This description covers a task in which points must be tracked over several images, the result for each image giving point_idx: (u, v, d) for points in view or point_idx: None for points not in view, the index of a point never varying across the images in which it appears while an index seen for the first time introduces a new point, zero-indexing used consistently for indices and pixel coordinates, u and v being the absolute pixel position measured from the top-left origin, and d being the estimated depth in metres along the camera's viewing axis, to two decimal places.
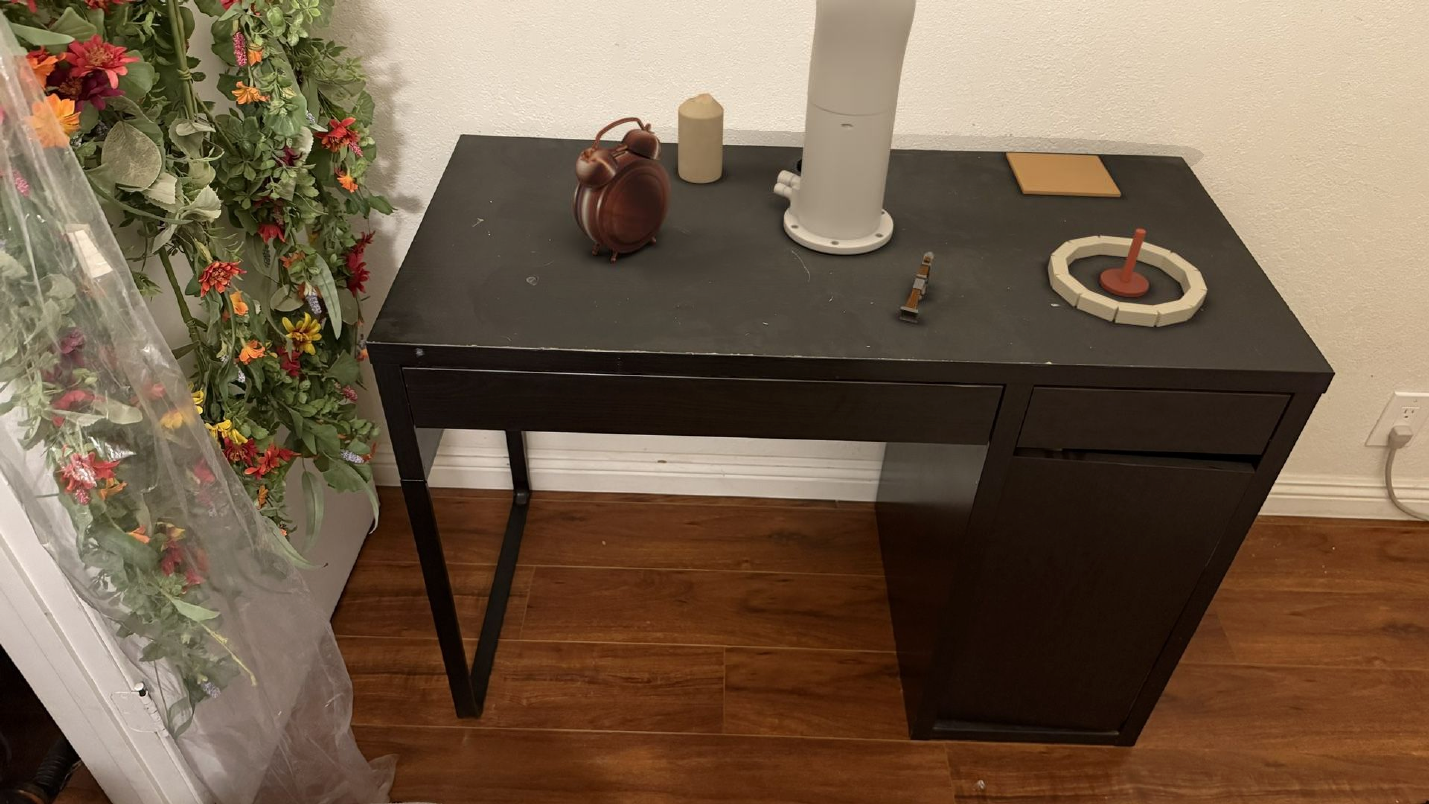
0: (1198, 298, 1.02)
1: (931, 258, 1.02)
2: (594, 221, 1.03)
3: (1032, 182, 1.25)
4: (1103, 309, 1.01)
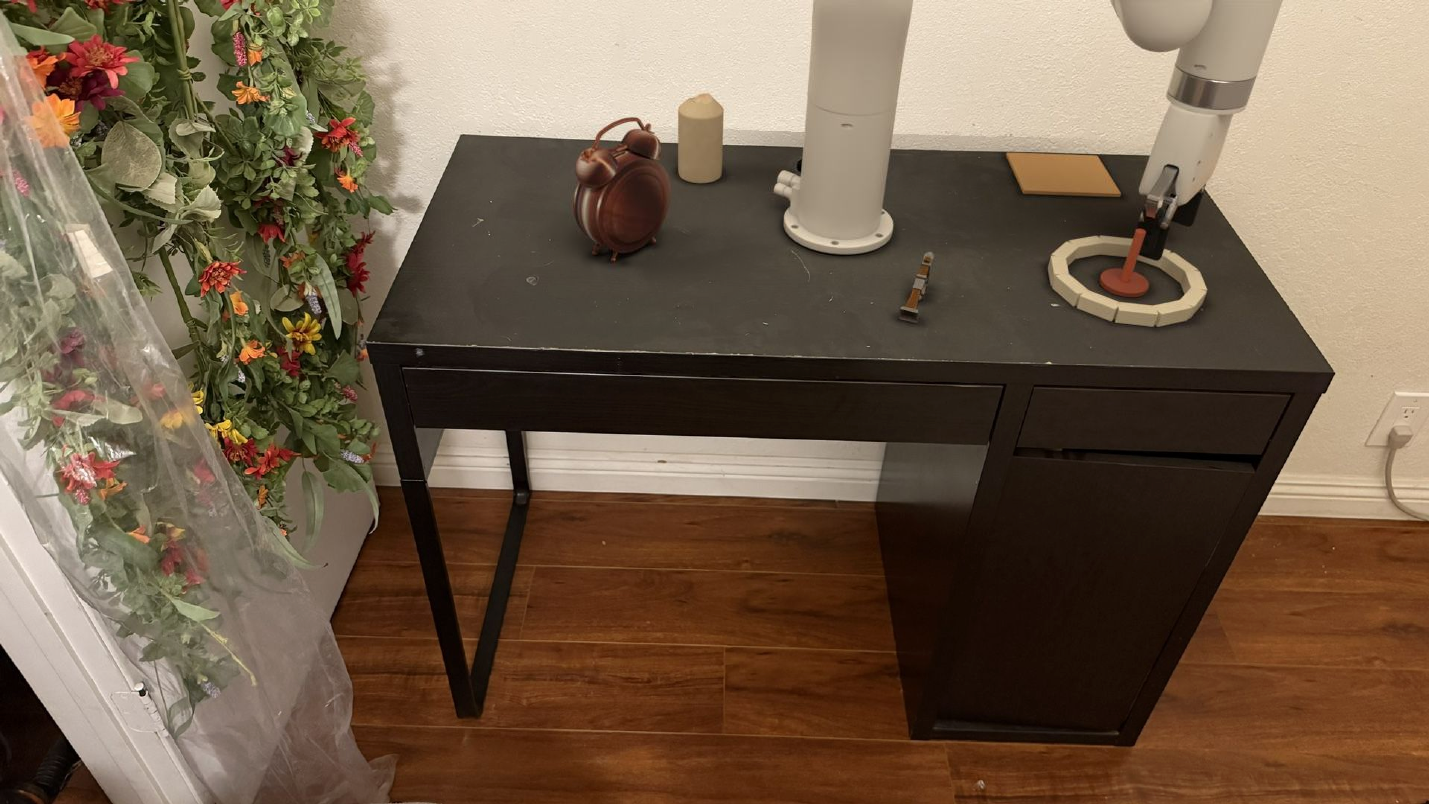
0: (1198, 298, 1.02)
1: (931, 258, 1.02)
2: (594, 221, 1.03)
3: (1032, 182, 1.25)
4: (1103, 309, 1.01)
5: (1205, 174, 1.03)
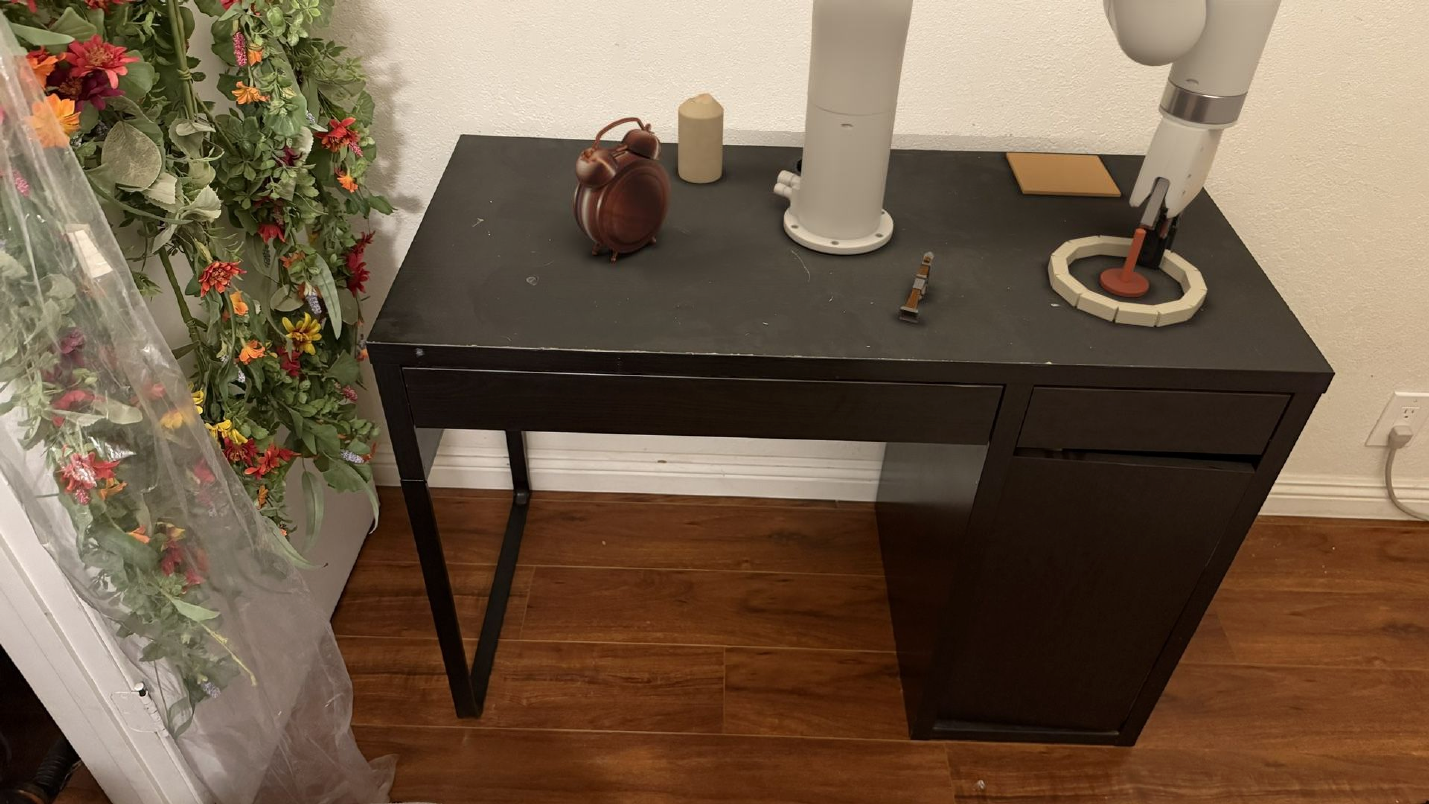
0: (1198, 298, 1.02)
1: (931, 258, 1.02)
2: (594, 221, 1.03)
3: (1032, 182, 1.25)
4: (1103, 309, 1.01)
5: (1195, 187, 1.04)
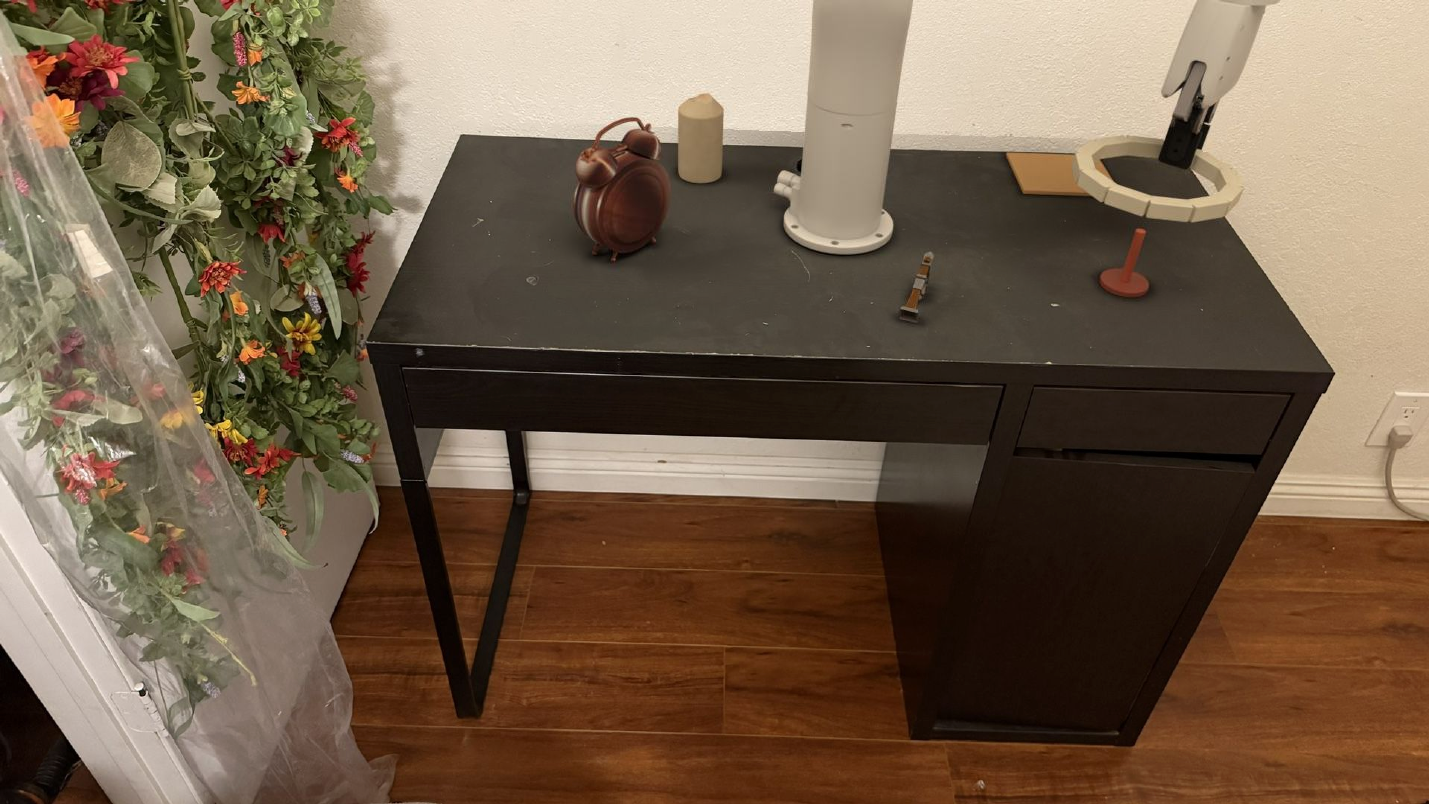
0: (1235, 194, 0.95)
1: (931, 258, 1.02)
2: (594, 221, 1.03)
3: (1032, 182, 1.25)
4: (1133, 203, 0.94)
5: (1232, 75, 0.96)
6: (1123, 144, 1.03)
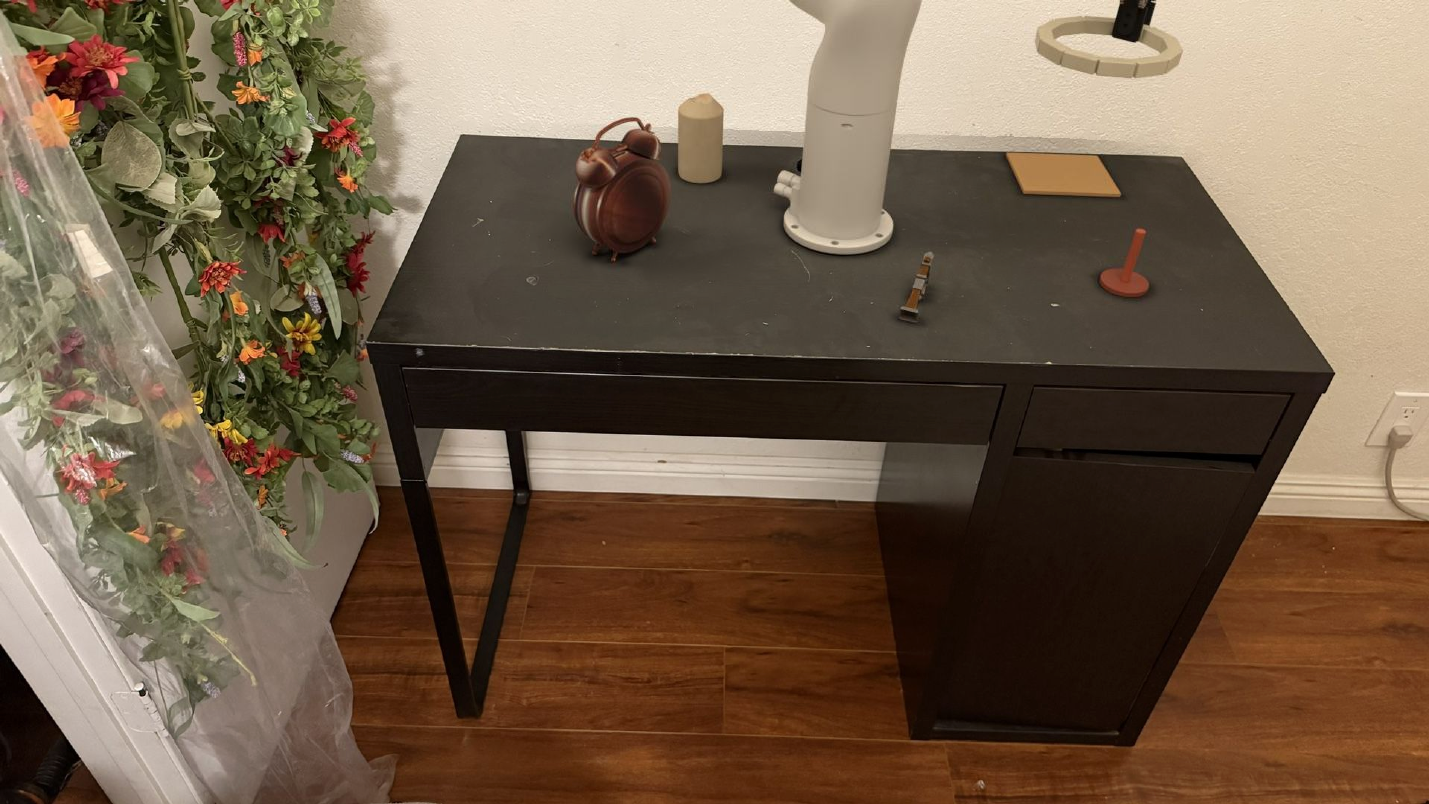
0: (1174, 54, 1.09)
1: (931, 258, 1.02)
2: (594, 221, 1.03)
3: (1032, 182, 1.25)
4: (1084, 63, 1.09)
5: None
6: (1081, 22, 1.18)
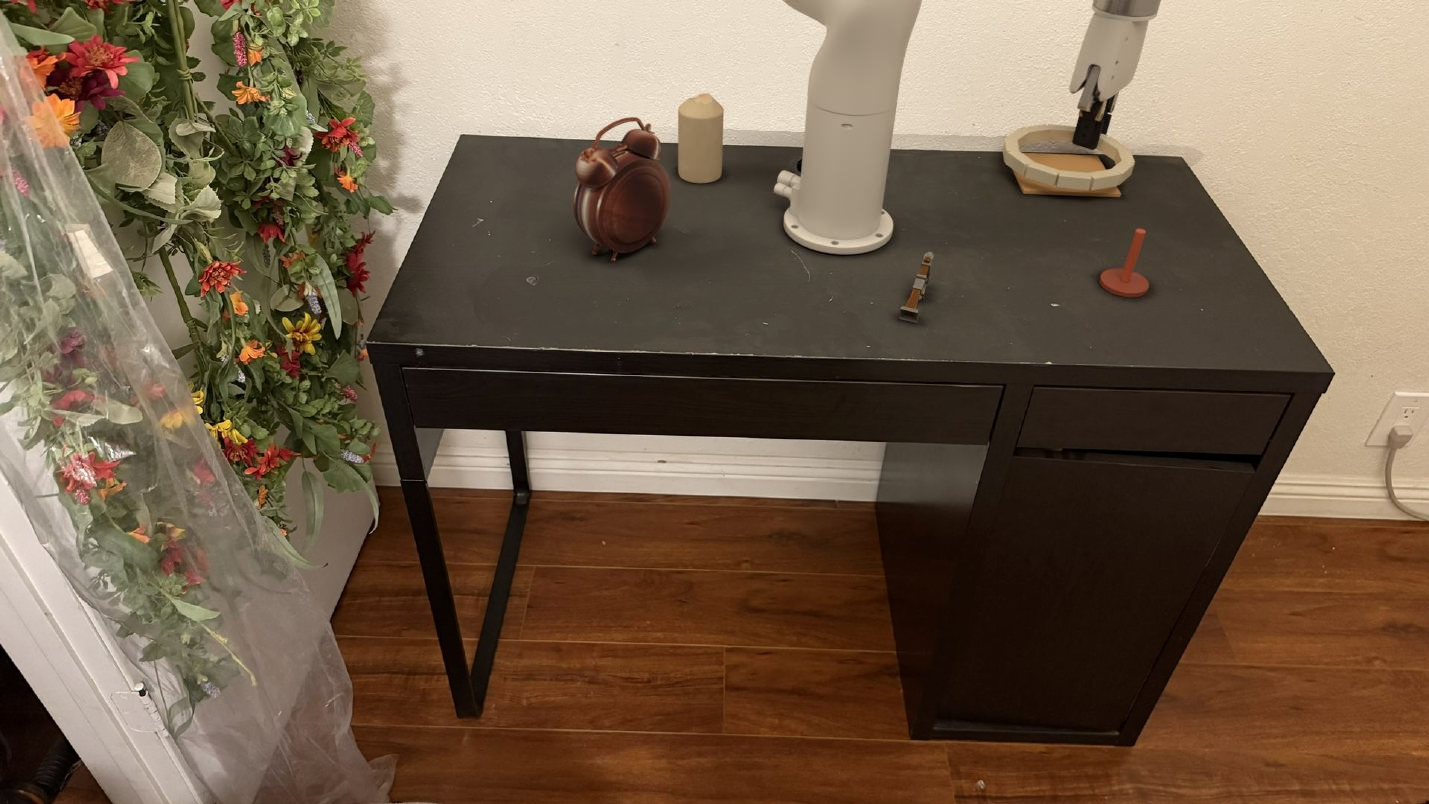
0: (1126, 168, 1.21)
1: (931, 258, 1.02)
2: (594, 221, 1.03)
3: (1032, 182, 1.25)
4: (1046, 176, 1.20)
5: (1124, 75, 1.23)
6: (1044, 131, 1.30)
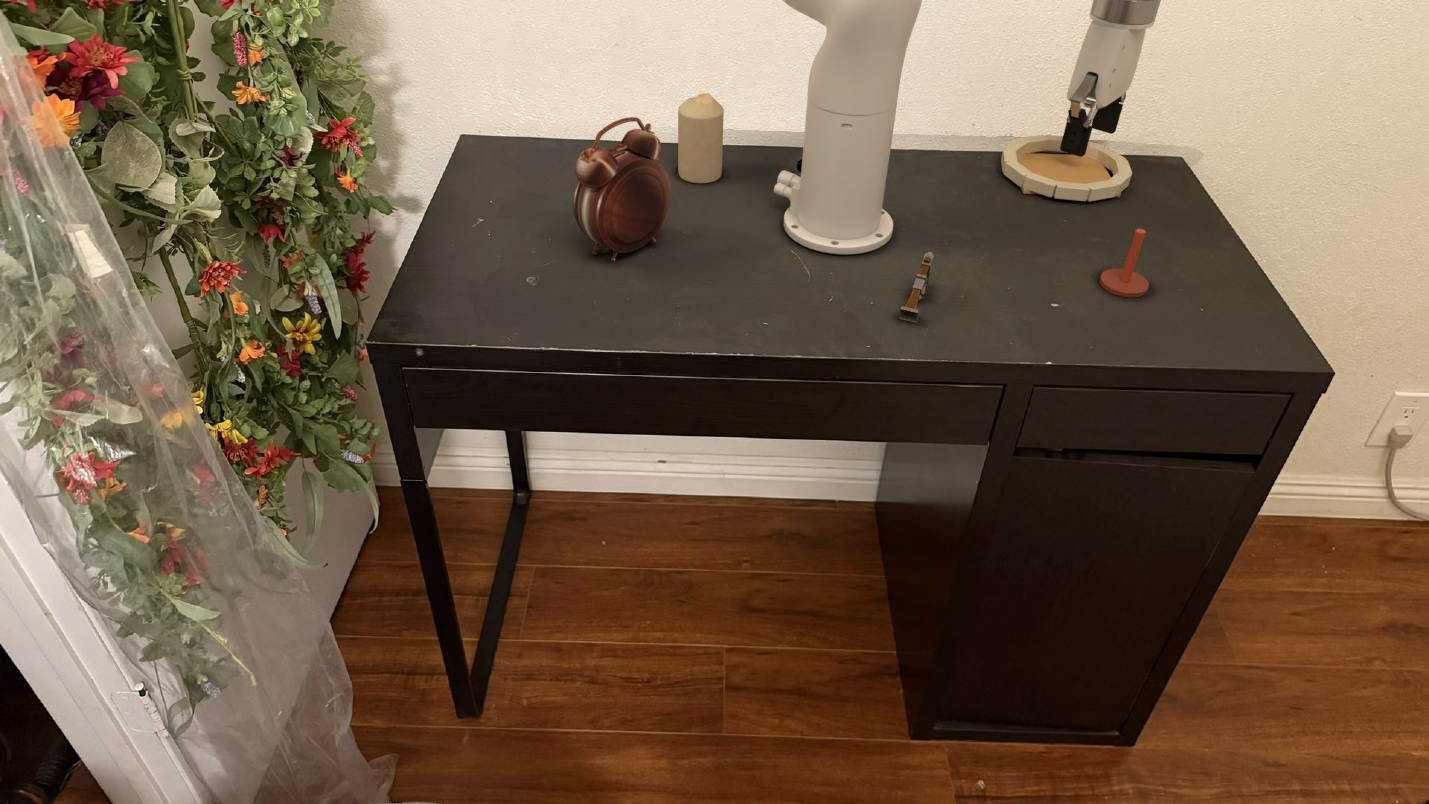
0: (1124, 179, 1.22)
1: (931, 258, 1.02)
2: (594, 221, 1.03)
3: None
4: (1044, 187, 1.21)
5: (1121, 83, 1.23)
6: (1042, 142, 1.31)
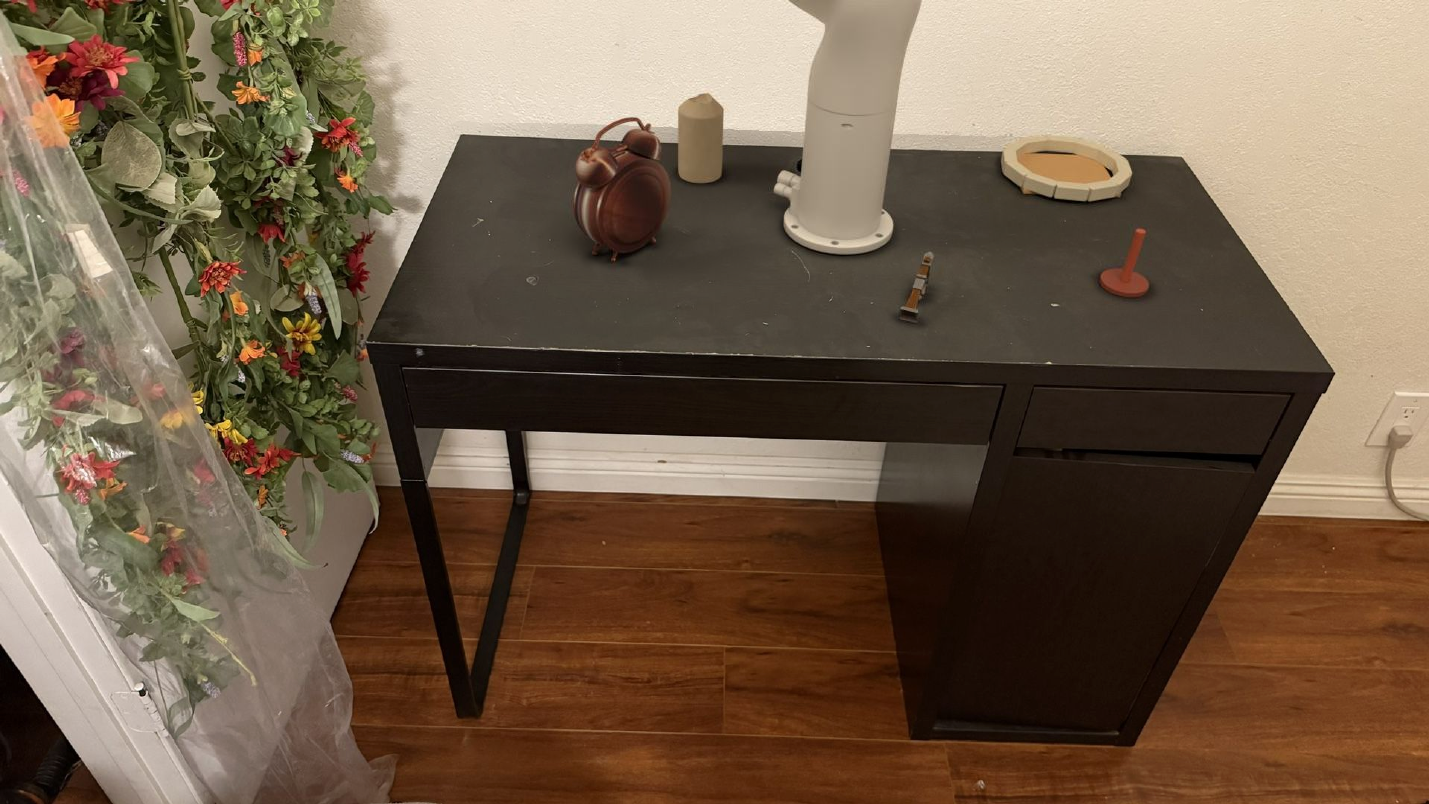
0: (1124, 179, 1.22)
1: (931, 258, 1.02)
2: (594, 221, 1.03)
3: None
4: (1044, 187, 1.21)
5: None
6: (1042, 142, 1.31)
